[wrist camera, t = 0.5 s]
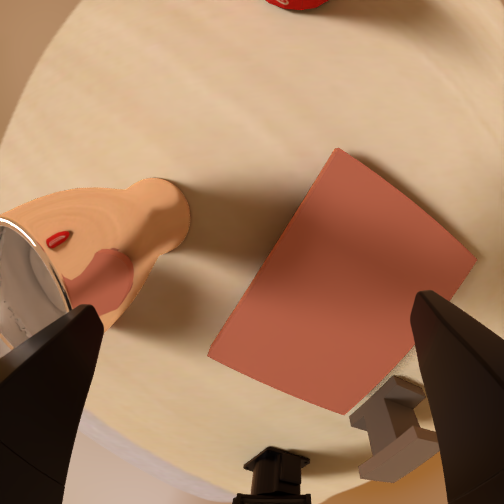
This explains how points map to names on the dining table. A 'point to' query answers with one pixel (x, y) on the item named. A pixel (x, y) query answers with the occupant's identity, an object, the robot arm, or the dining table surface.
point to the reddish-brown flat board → (340, 289)
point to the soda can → (297, 4)
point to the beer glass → (84, 252)
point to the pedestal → (394, 432)
